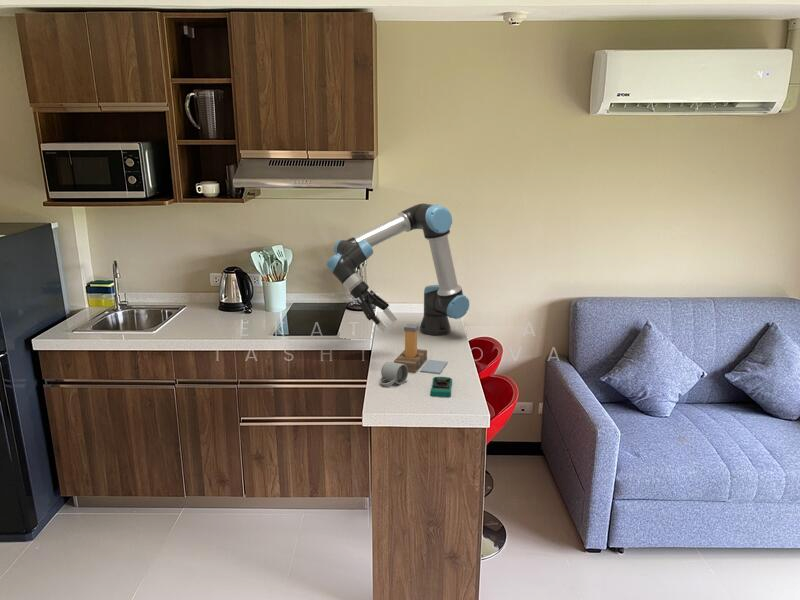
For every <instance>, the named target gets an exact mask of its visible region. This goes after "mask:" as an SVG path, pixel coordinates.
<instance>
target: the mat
mask: <svg viewBox="0 0 800 600" xmlns="http://www.w3.org/2000/svg"><path fill="white" fill-rule="evenodd" d="M427 360H428V359H427ZM448 362H449V361H444V360H436V359H435V360H434V359H429V360H428V361H426V363H425V364H424V365H422V367H421V369H420V370H419V372H421V373H427V374H435V375H440V374H441V373H442V372H443V370H444V369H445V368H446V366H447V365H448Z"/></svg>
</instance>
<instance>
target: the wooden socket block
mask: <svg viewBox="0 0 800 600" xmlns="http://www.w3.org/2000/svg"><path fill="white" fill-rule="evenodd" d="M427 360H428V350H427V349H419V348H417V357H416V358H410V357H405V349H404V350H403V351H402V352H401V353H400V354H399V355H398V356H397V357H396V358H395V359H393V362H394V363H400V364H405V365H406V366H407V368H408V373H410V374H416V373H417V371H419V369H420V368H422V367H423V364H424V363H425V362H427Z"/></svg>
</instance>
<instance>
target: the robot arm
mask: <svg viewBox="0 0 800 600" xmlns="http://www.w3.org/2000/svg"><path fill="white" fill-rule="evenodd" d="M452 224H453V216H452V214H451V211H450V210H449V209H448V208H446V207H444V206H442V205H439V204H431V203H430V204H428V203H418V204H416V205H413V206H410V207H408V208H406V209H404V210H401V211H400V212H398V214H397V216H394V217H393V218H390V219H388V220H386V221H383V223H380V224H377V225H376V226H374V227H371V228H369V229H366V231H365V230H364V231H363V232H361V233H359V234H357V235H355V236H353V237H350V238H348V239H346V240H345V239H343V240H337V241H336V242H335V244H334V245H333V252H334V255H332V256H331V257H330V258H329V259H328V261H326V267H327V268H328V269H329V271H330V272H331V273H332V274H333V275H334V277H336V279H338V281H339V282H340V283H341V285H343V287H344V289H346V290H347V291H348V292H350V295H351V296H352V297H353V298H354V299H355V300H356V302H357V304H358V305H359V306H360V308H361V310H362V312H363V314H364V316H365V318H366V319H367V320H368V321H372V322H373V323H374V324H375V325H376V326H377V327H378V328H379V329H380V331H381V332H384V331H385V330H386V329H387V328H388V326H387V325H386V323H385V322H384V321H383V320H382V319H381V317H379V316H378V314H376V313H375V311H374V308H373V306H372V305H374V306H376V307H378V308H379V309H380V310H382V312H383V313H384V314H385V316H386V317H387V318H388V319H389V320H390V322H392V323H395V322H396V321H397V320H398V317H397V316H396V315H395V313H394V312H393V311H392V310H391V309H390V304H389V303H388V302H387V301H386V300H384V299H383V298H381V296H379V295H378V294H377V293H375V292H374V291H373V290H370V291H368V289H369V285H368V284H367V283H366V282H365V281H363V278H362V277H361V276H360V275H359V274H358V273H357V272H356V270H355V269H357V268H358V267H359V266H360V265H362V264H363V263H364V262H365V261H366V260H368V259H369V258H370V257H372V255H373V254H374V249H373V247H375V246H377V245H379V244H381V243H383V242H385V241H387V240H390V239H391V238H393V237H395V236H398V235H400V234H402V233H403V232H407V233H408V232H412V231H414V230H422V232H423V236H424V239H426V240H427V241H428V244H429V248H430V252H431V257H432V261H433V266H434V270H435V274H436V279H437V283H438V284H432V285H427V286H425V287H424V292H423V317H422V320H421V322H420V325H419V331H421V332H420V333H422V332H423V333H422V334H424V333H426V334H425V335H428V334H433V335H432V336H438V335H437V334H445V335H448V334H450V333H451V325H450V321H449V319H455V320H458V319H462V318H463V317H465V315H467V312H468V311H469V308H470V300H469V298H468V297H467V296H466V295H464V293H463V288H462V286H461V285H460V284H458V280H457V276H456V275H457V274H456V271H455V267H454V262H453V255H452V252H451V248H450V247H451V246H450V243H449V237H448V236H449V234H450V232H451V231H450V229H451V227H452ZM449 332H450V333H449ZM447 333H448V334H447Z"/></svg>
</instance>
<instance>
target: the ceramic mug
mask: <svg viewBox="0 0 800 600" xmlns="http://www.w3.org/2000/svg"><path fill="white" fill-rule="evenodd" d="M380 373H381V377H380V378H379V383H380V385H381V386H382V387H384V386H388V387H391V386H392V385H393V384H396V385H403V384H405V382H406V381H407V379H408V376H409V375H408V374H409V372H408V368H407V366H406V365H405V364H400V363H394V361H391V362H390V361H389V362H385V363H384V364H383V365H382V367H381V372H380ZM384 380H385V381H386V383H383V381H384Z"/></svg>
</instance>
